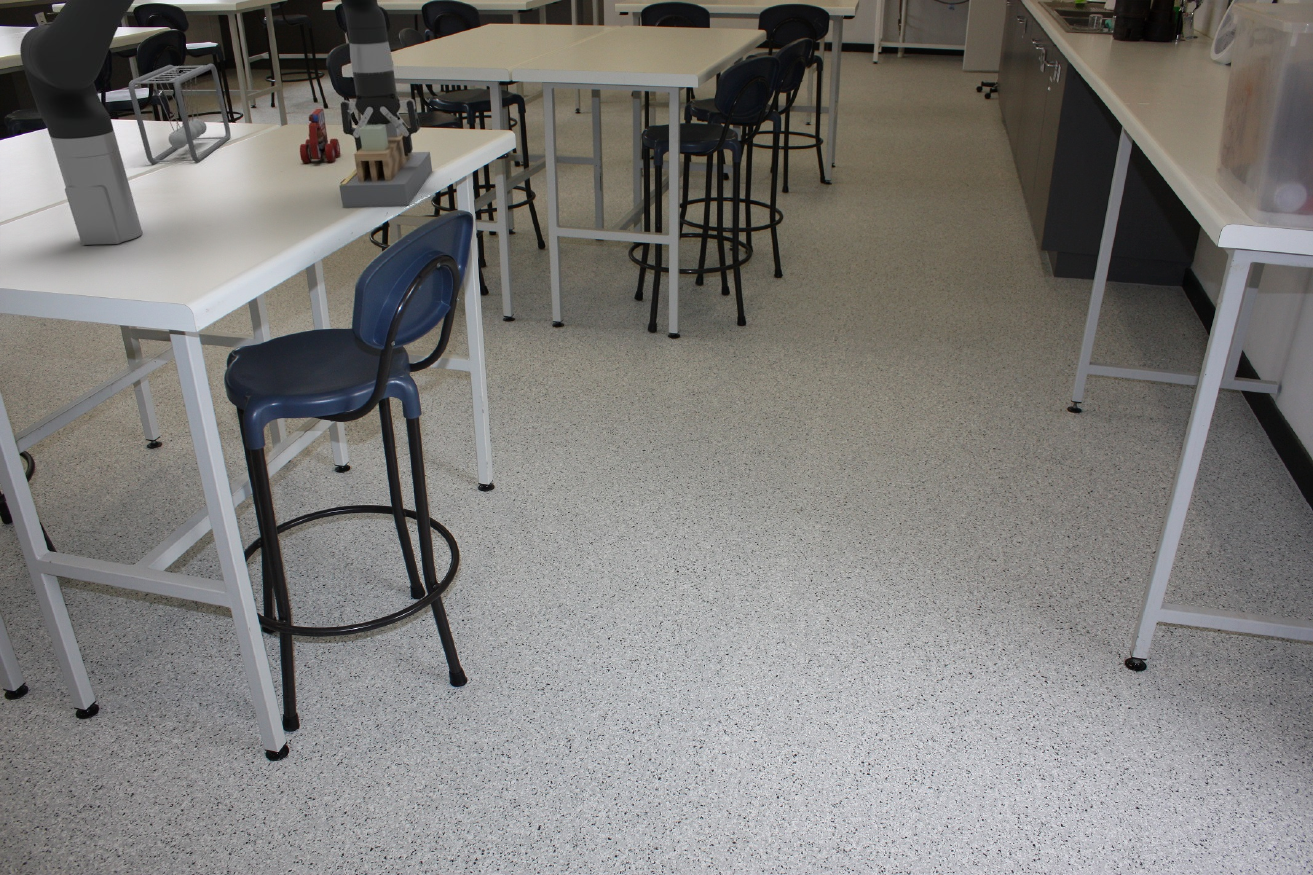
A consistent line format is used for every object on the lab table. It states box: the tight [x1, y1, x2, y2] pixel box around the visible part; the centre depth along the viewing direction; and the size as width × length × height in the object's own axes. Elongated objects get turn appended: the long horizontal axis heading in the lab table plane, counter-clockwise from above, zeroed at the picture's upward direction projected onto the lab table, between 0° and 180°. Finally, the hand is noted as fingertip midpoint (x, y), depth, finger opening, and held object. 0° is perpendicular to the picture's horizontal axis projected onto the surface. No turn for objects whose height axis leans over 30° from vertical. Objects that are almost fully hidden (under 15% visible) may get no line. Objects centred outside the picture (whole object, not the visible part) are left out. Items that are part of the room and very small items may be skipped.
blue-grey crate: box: [376, 112, 401, 137], centre depth 189 cm, size 4×4×4 cm
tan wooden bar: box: [353, 133, 413, 182], centre depth 186 cm, size 22×6×5 cm, turn 2°
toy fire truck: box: [299, 108, 341, 164], centre depth 210 cm, size 7×12×10 cm, turn 5°
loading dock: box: [339, 151, 433, 208], centre depth 188 cm, size 28×13×4 cm, turn 2°
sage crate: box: [359, 124, 389, 151], centre depth 178 cm, size 4×4×4 cm
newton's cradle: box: [128, 63, 231, 165], centre depth 219 cm, size 30×10×18 cm, turn 8°
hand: (385, 155), depth 186 cm, fingers open, 8 cm apart
